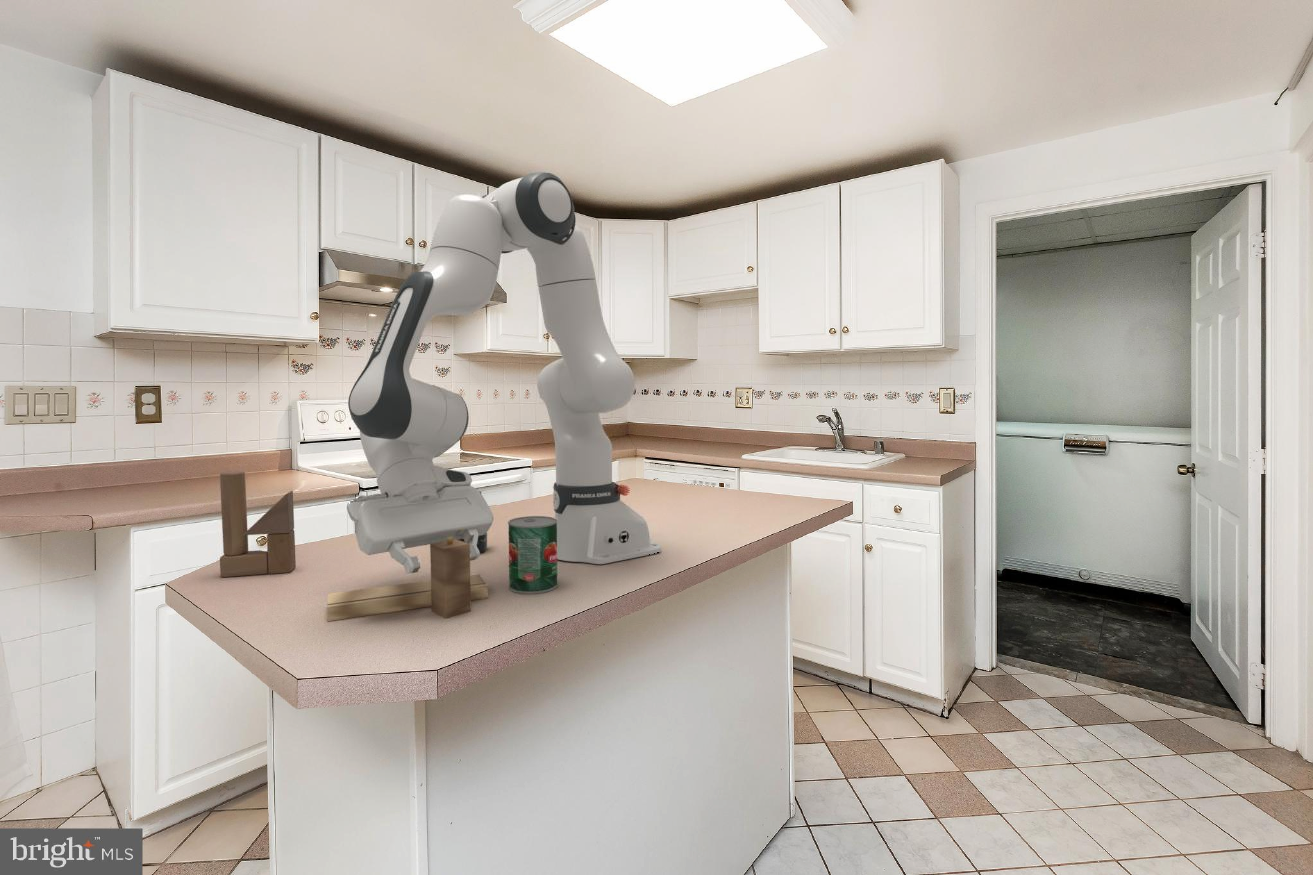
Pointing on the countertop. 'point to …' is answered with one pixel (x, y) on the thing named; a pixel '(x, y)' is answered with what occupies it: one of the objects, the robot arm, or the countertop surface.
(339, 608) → the board
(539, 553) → the canned tomato
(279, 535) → the wooden block structure
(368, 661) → the countertop surface
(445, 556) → the block
